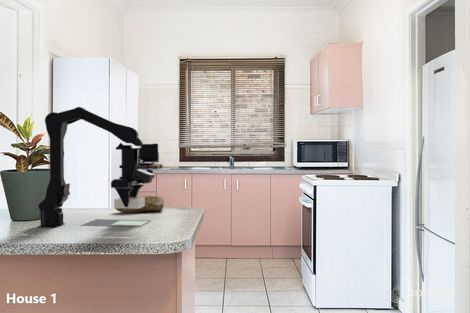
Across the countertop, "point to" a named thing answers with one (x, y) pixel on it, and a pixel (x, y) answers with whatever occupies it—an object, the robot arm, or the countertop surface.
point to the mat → (117, 223)
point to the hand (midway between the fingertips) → (129, 205)
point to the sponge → (146, 205)
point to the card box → (130, 203)
